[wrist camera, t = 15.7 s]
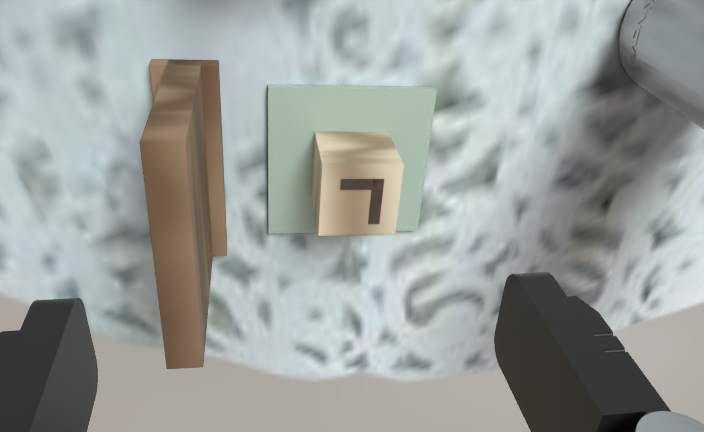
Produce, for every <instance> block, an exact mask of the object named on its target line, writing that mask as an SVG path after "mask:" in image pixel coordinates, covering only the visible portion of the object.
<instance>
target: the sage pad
mask: <svg viewBox="0 0 704 432" xmlns="http://www.w3.org/2000/svg"><path fill="white" fill-rule="evenodd" d="M436 93H437V89H436V88H435V87H402V86H332V85H268V231H269V234H282V233H318V231H317V225H316V219H315V213H314V207H313V201H312V182H313V160H314V139H315V131H336V132H389V134H390V136H391V138H392V140H393V143H394V145H395V147H396V149H397V151H398V154H399V156H400V158H401V160H402V162H403V164H404V170H403V178H402V186H401V193H400V201H399V209H398V217H397V224H396V231H417V229H418V222H419V215H420V207H421V200H422V193H423V186H424V179H425V172H426V164H427V157H428V150H429V143H430V136H431V129H432V121H433V114H434V107H435V100H436Z"/></svg>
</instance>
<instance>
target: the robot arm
mask: <svg viewBox="0 0 704 432" xmlns="http://www.w3.org/2000/svg"><path fill="white" fill-rule="evenodd" d="M619 54H620V58H621V62H622V65H623V67H624V69H625V71H626V73H627V74H628V76H629V77H630V78H631V79H632V80H633V81H634V82H635V83H636V84H637V85H639V86H640V87H642V88H643V89H645V90H646V91H648V92H649V93H651V94H652V95H654V96H655V97H657V98H658V99H660V100H661V101H663V102H664V103H666V104H667V105H668V106H670V107H671V108H673V109H674V110H676V111H677V112H679V113H680V114H682V115H683V116H685V117H686V118H688V119H689V120H691V121H692V122H694V123H695V124H697V125H698V126H700V127H701V128H703V129H704V0H633V1H632V2H631V4H630V6H629V8H628V9H627V12H626V15H625V17H624V20H623V22H622V26H621V31H620V37H619ZM494 343H495V352H496V357H497V360H498V363H499V366H500V368H501V370H502V372H503V374H504V376H505V378H506V380H507V382H508V384H509V387H510V389H511V391H512V393H513V395H514V397H515V399H516V401H517V403H518V405H519V408H520V410H521V411H522V414H523V416H524V418H525V420H526V422H527V424H528V426H529V428H530V430H531V432H704V424H702V423H701V422H698V421H697V420H695V419H693V418H691V417H688V416H685V415H683V414H679V413H675V412H671V411H670V409H669V408H668V407H667V405H666V404H665V403H664V401H663V400H662V399H661V397H660V396H659V394H658V393H657V392H656V390H655V389H654V387H653V386H652V385H651V383H650V382H649V381H648V379H647V378H646V377H645V375H644V374H643V372H642V371H641V370H640V368H639V367H638V366H637V364H636V363H635V362H634V360H633V359H632V358H631V356H630V355H629V353H628V352H625V350H624V347H623V345H622V344H621V343H620V341H619V340H618V338H617V337H616V336H613V332H612V330H611V329H610V327H609V326H608V325H607V323H606V322H605V321H604V319H603V318H602V317H601V315H600V314H599V312H597V311H596V310H594V309H593V308H592V307H590V306H589V305H588V304H586V303H585V302H584V301H582V300H581V299H579V298H578V297H577V296H571V297H567V296H566V295H565V293H564V292H563V290H562V289H561V287H560V286H559V284H558V283H557V281H556V280H555V279H554V277H553V276H552V275H551V274H550V273H548V272H543V273H526V274H511V275H510V276H509V277H508V278H507V280H506V283H505V288H504V292H503V297H502V302H501V307H500V311H499V316H498V321H497V325H496V330H495V337H494ZM97 382H98V369H97V361H96V356H95V351H94V347H93V342H92V338H91V334H90V329H89V325H88V321H87V316H86V312H85V308H84V304H83V302H82V300H81V299H80V298H70V299H52V300H36V301H34V302H33V303H32V304H31V306H30V308H29V311H28V313H27V315H26V318H25V320H24V322H23V325H22V327H21V329H20V330H19V331H3V332H1V333H0V432H87V429H88V425H89V421H90V417H91V413H92V408H93V405H94V401H95V396H96V392H97Z"/></svg>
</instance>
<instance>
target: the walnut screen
mask: <svg viewBox="0 0 704 432" xmlns="http://www.w3.org/2000/svg"><path fill="white" fill-rule="evenodd" d="M149 66H150V76H151V86H152V95H153V106H152V109H151V112H150V114H149V117H148V120H147V123H146V126H145V129H144V132H143V135H142V138H141V141H140V149H141V157H142V165H143V174H144V182H145V190H146V199H147V207H148V215H149V224H150V232H151V241H152V249H153V257H154V266H155V274H156V282H157V291H158V299H159V307H160V316H161V324H162V332H163V341H164V349H165V357H166V365H167V369H176V368H177V369H178V368H197V367H203V363H204V351H205V339H206V328H207V316H208V304H209V292H210V281H211V269H212V257H213V256H227V233H226V211H225V189H224V167H223V145H222V124H221V102H220V80H219V61H217V60H167V59H151V62H150V64H149Z"/></svg>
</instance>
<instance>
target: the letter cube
mask: <svg viewBox="0 0 704 432" xmlns="http://www.w3.org/2000/svg"><path fill="white" fill-rule="evenodd" d="M403 170H404V164H403V162H402V160H401V158H400V156H399V154H398V151H397V149H396V147H395V145H394V143H393V140H392V138H391V136H390V134H389V132H336V131H315V139H314V160H313V182H312V201H313V207H314V213H315V219H316V225H317V231H318V236H342V235H395V232H396V224H397V217H398V209H399V201H400V193H401V186H402V178H403Z"/></svg>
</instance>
